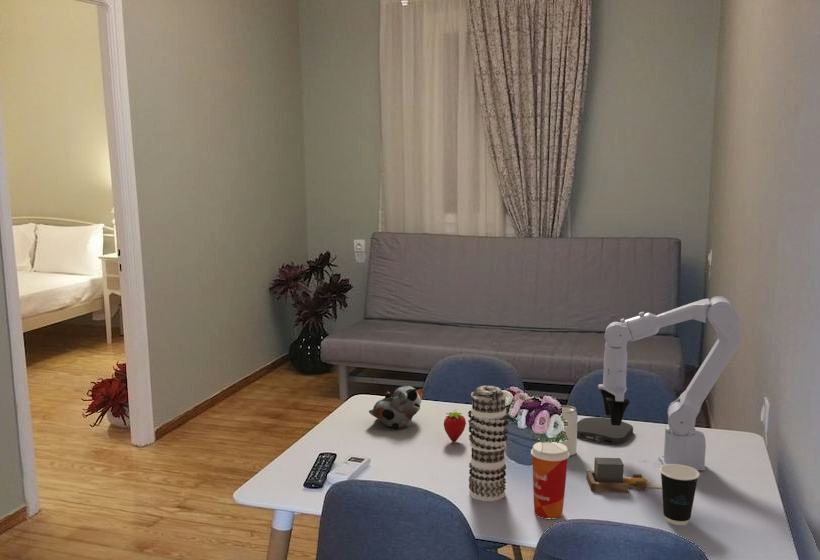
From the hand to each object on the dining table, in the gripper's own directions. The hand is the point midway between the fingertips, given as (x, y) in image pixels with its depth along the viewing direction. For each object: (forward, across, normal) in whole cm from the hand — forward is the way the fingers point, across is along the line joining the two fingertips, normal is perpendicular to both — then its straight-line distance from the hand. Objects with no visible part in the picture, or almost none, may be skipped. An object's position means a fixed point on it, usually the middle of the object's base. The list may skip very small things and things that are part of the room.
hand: (612, 420), depth 190 cm
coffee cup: (+10, +34, -20) cm, 41 cm away
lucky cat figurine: (+10, -22, -58) cm, 63 cm away
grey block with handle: (+10, +18, -1) cm, 21 cm away
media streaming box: (+10, -17, +1) cm, 20 cm away
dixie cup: (+10, +35, +7) cm, 37 cm away
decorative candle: (+10, +25, -33) cm, 43 cm away
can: (+10, -2, -12) cm, 16 cm away
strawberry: (+10, -7, -41) cm, 43 cm away
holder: (+10, +18, 0) cm, 21 cm away
